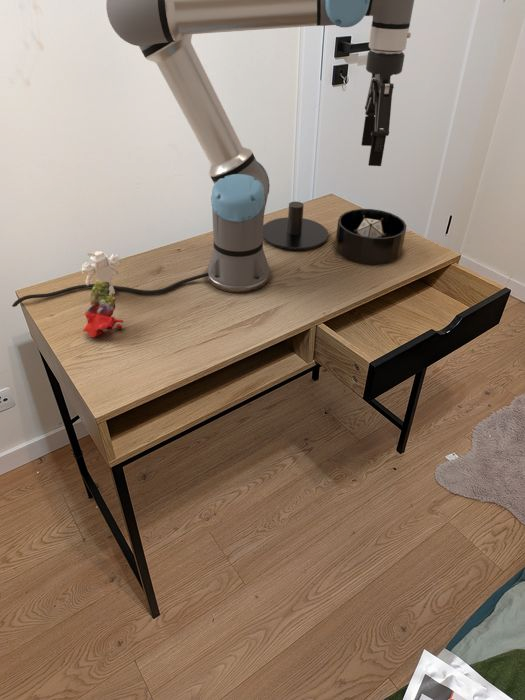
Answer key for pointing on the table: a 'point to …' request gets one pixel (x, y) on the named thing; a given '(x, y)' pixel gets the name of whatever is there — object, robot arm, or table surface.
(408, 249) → the table surface
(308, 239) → the pan lid
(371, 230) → the game die
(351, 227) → the pan
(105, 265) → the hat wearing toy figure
